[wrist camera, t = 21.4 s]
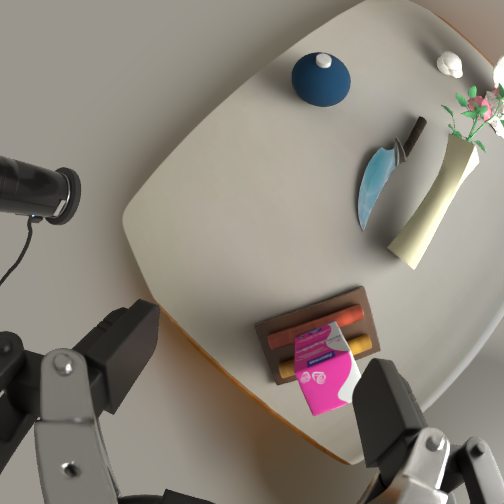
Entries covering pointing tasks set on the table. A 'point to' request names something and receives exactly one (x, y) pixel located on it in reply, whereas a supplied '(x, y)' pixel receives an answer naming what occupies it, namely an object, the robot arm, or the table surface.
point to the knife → (383, 171)
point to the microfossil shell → (450, 64)
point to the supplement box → (325, 368)
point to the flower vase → (445, 181)
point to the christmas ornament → (321, 79)
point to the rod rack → (313, 317)
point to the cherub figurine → (502, 76)
